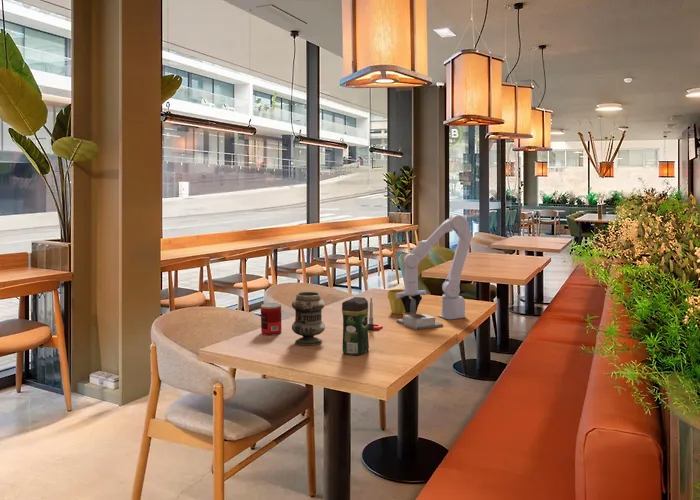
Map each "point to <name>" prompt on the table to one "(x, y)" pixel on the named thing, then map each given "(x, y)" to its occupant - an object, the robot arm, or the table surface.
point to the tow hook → (370, 324)
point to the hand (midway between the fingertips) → (411, 312)
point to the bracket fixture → (418, 321)
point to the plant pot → (396, 301)
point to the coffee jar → (355, 326)
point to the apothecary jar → (308, 317)
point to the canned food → (271, 319)
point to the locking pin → (413, 305)
